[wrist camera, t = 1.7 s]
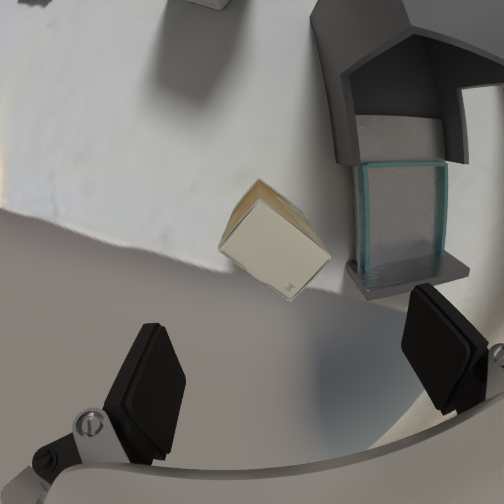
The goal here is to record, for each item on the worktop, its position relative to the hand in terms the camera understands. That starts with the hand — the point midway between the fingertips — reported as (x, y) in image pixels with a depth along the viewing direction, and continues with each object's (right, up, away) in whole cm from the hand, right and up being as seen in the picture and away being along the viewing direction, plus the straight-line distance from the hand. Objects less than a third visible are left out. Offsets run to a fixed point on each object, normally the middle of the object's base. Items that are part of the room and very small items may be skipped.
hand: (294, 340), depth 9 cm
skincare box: (0, +7, +19) cm, 20 cm away
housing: (+13, +20, +14) cm, 28 cm away
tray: (+15, +10, +18) cm, 25 cm away
